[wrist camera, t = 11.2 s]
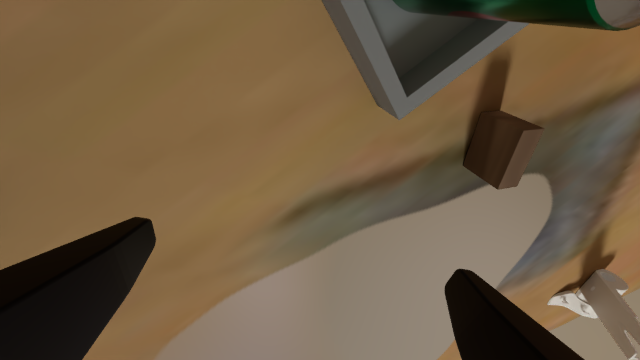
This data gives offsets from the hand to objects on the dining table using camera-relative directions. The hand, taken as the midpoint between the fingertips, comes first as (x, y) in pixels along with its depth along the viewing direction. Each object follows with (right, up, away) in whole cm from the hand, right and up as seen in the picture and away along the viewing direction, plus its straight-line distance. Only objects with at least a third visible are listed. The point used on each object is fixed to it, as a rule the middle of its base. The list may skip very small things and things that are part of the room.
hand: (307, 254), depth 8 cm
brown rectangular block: (+14, +6, +17) cm, 23 cm away
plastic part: (+46, -17, +43) cm, 65 cm away
